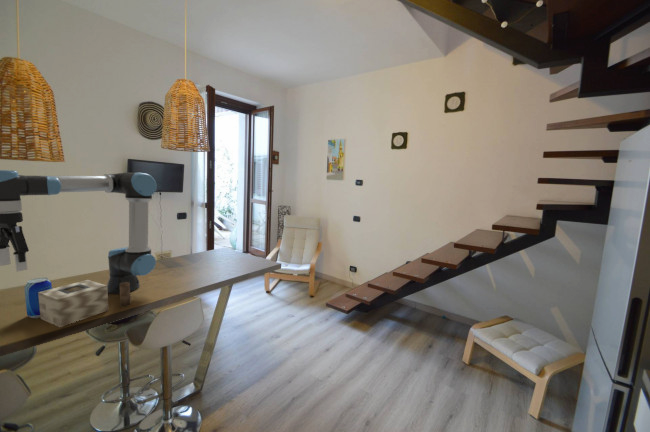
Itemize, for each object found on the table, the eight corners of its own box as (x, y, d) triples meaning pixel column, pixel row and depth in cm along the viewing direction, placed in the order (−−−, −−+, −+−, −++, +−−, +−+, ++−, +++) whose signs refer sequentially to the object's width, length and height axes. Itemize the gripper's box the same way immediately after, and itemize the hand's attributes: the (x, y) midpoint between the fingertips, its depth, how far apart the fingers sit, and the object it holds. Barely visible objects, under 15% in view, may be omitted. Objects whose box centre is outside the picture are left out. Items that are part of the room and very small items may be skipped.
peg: (127, 302, 141) (126, 281, 139) (132, 304, 139) (131, 282, 138) (118, 305, 137) (117, 283, 136) (123, 307, 136) (122, 285, 134)
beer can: (33, 320, 121) (30, 284, 119) (23, 316, 124) (19, 281, 122) (58, 312, 128) (55, 278, 127) (47, 308, 132) (44, 275, 130)
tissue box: (89, 303, 139) (87, 279, 137) (108, 310, 132) (107, 285, 131) (40, 318, 122) (38, 292, 121) (60, 327, 116) (58, 299, 114)
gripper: (-23, 210, 106) (-16, 265, 109) (7, 215, 96) (14, 275, 99) (6, 209, 113) (12, 260, 115) (37, 213, 103) (43, 270, 105)
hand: (13, 267), depth 107 cm, fingers open, 13 cm apart
